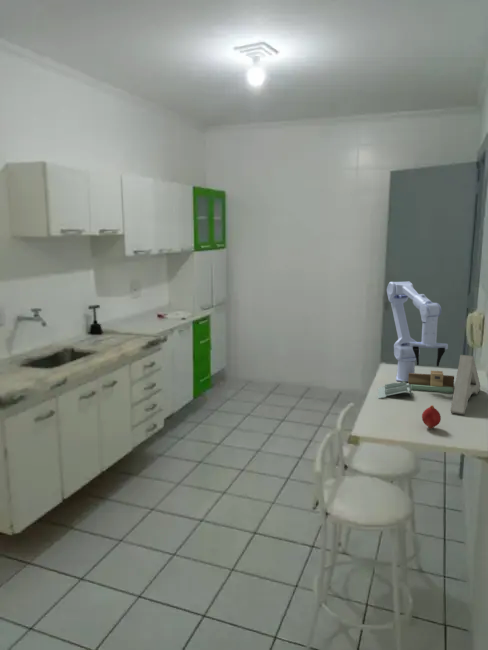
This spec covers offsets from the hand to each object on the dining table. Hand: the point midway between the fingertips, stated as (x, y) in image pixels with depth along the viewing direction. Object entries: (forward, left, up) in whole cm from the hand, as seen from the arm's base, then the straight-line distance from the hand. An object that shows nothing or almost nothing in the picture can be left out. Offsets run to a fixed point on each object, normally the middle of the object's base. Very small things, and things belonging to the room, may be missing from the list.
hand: (427, 365), depth 209 cm
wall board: (-6, +2, -10) cm, 12 cm away
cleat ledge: (-2, +2, -10) cm, 11 cm away
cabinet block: (-2, +4, -10) cm, 11 cm away
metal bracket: (+10, -13, -11) cm, 20 cm away
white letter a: (+12, +14, -11) cm, 21 cm away
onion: (+46, -1, -11) cm, 47 cm away
